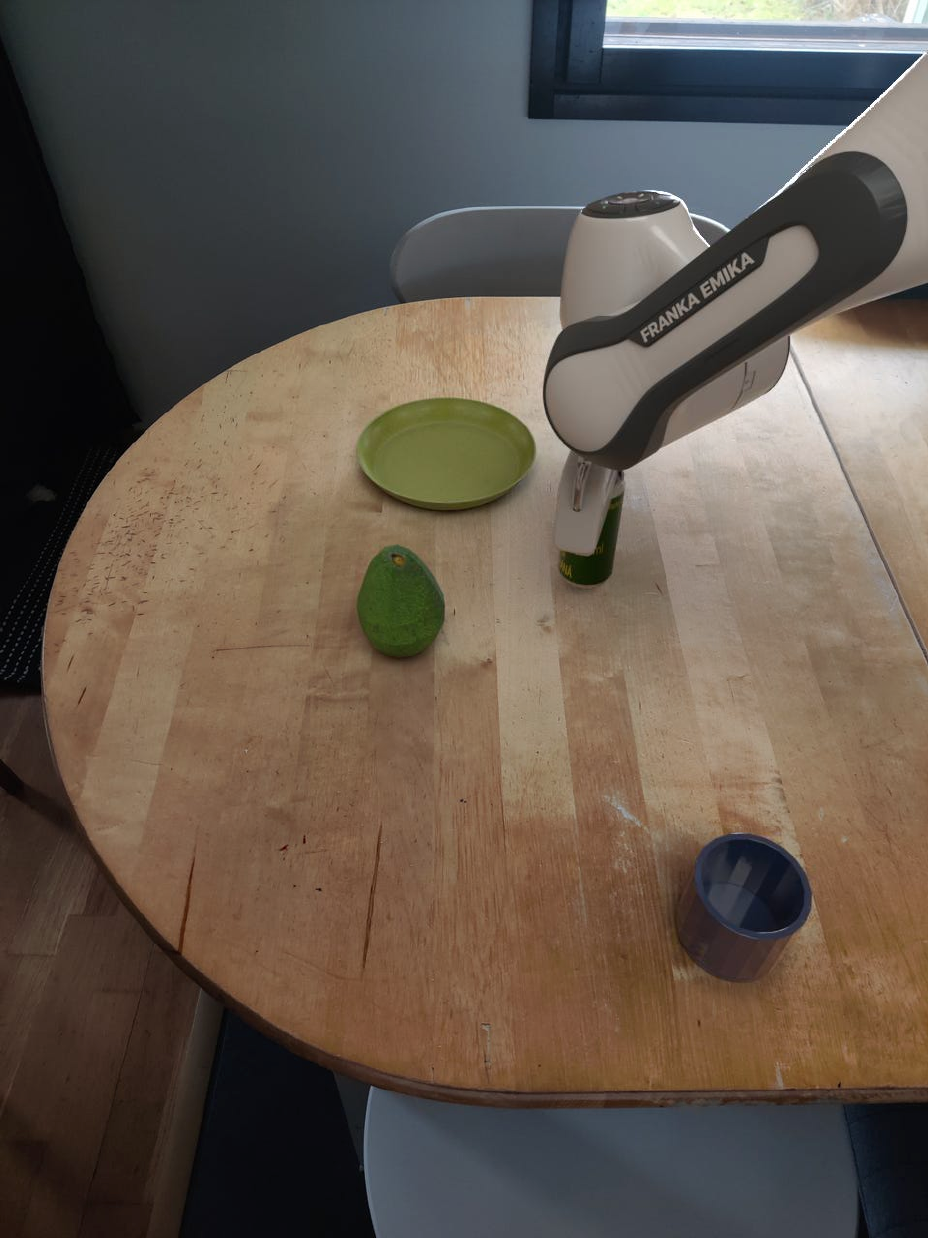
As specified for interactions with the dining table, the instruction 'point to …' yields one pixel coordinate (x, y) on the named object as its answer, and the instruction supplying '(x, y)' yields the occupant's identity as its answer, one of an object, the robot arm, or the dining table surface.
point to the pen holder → (742, 907)
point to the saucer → (446, 452)
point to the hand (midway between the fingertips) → (590, 528)
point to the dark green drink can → (600, 563)
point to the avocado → (400, 603)
